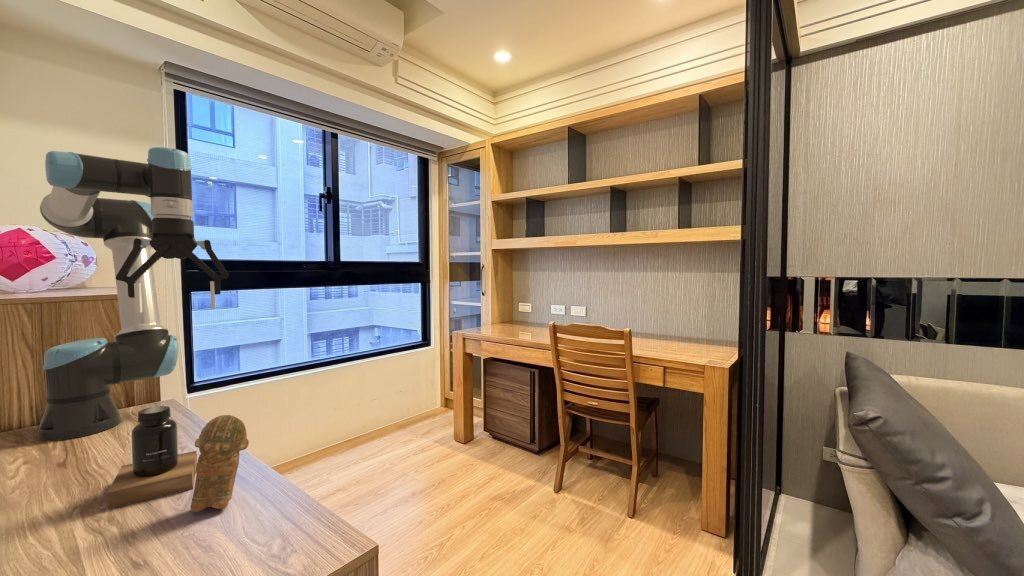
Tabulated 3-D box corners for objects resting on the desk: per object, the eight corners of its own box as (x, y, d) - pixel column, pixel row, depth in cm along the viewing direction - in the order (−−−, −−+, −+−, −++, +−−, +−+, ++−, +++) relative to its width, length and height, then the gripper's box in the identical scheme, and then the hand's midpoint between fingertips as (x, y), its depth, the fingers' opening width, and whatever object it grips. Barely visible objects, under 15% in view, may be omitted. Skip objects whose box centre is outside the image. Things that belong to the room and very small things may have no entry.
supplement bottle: (152, 480, 79) (148, 417, 78) (123, 476, 80) (120, 414, 79) (187, 463, 85) (184, 405, 85) (160, 459, 87) (157, 402, 86)
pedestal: (122, 480, 85) (122, 465, 84) (197, 464, 91) (196, 450, 91) (108, 509, 75) (107, 492, 74) (192, 488, 81) (191, 473, 81)
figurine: (189, 521, 71) (184, 434, 70) (199, 497, 78) (195, 418, 77) (248, 507, 75) (244, 424, 74) (252, 486, 82) (248, 410, 81)
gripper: (93, 213, 86) (99, 315, 88) (237, 219, 100) (241, 308, 101) (102, 216, 93) (108, 312, 94) (237, 222, 106) (241, 305, 108)
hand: (177, 310), depth 98 cm, fingers open, 13 cm apart
